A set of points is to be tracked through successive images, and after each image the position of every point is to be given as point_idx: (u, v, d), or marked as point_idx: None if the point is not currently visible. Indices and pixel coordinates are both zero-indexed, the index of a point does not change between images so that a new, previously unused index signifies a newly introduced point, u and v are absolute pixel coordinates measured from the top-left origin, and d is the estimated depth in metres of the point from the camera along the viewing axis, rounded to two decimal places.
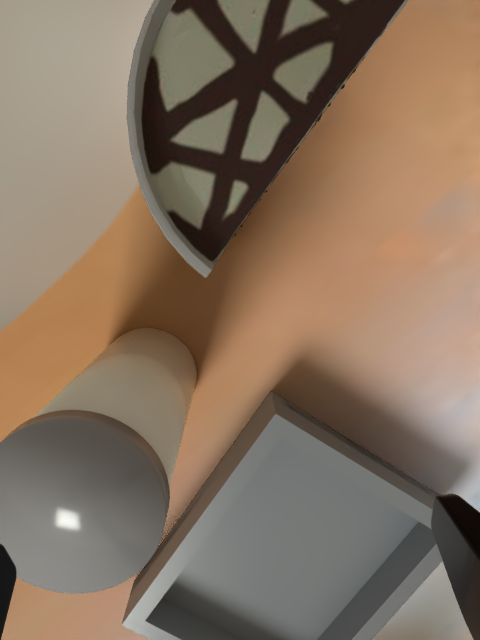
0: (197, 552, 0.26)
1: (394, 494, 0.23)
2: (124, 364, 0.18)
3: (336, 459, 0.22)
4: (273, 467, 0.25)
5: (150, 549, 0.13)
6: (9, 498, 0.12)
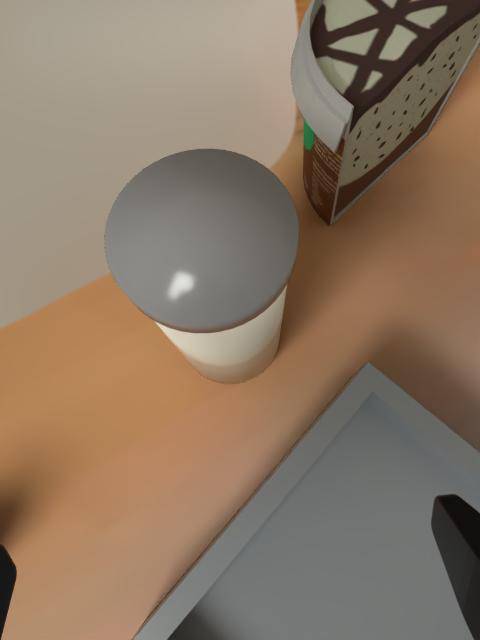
0: (244, 570, 0.19)
1: None
2: None
3: (437, 429, 0.19)
4: (355, 456, 0.21)
5: (275, 281, 0.12)
6: (150, 208, 0.13)
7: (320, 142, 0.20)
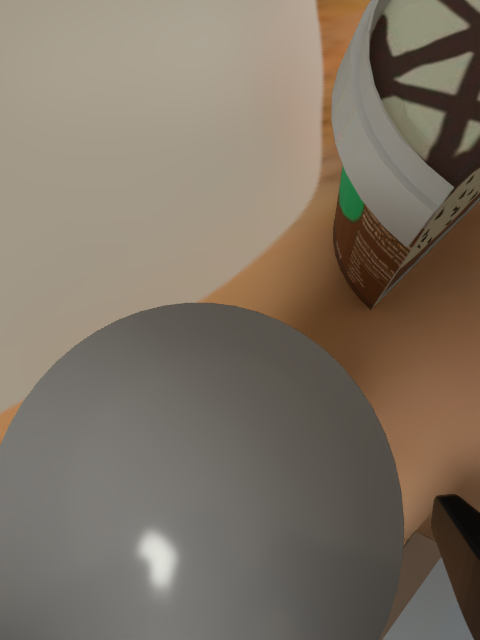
0: None
1: None
2: None
3: None
4: None
5: None
6: (83, 440, 0.06)
7: (374, 219, 0.13)
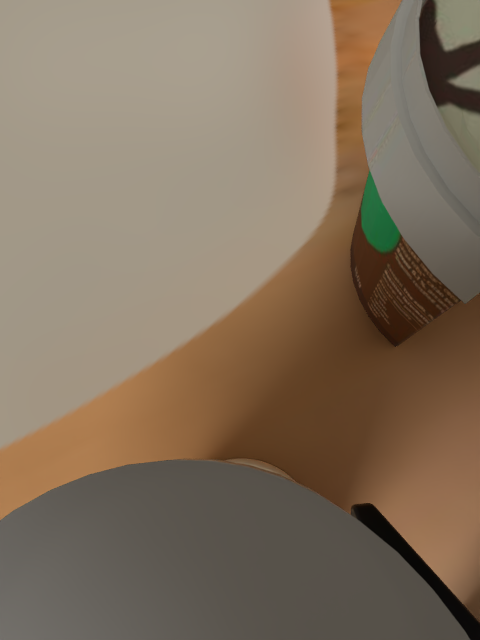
0: None
1: None
2: (263, 468, 0.09)
3: None
4: None
5: None
6: None
7: (414, 256, 0.11)
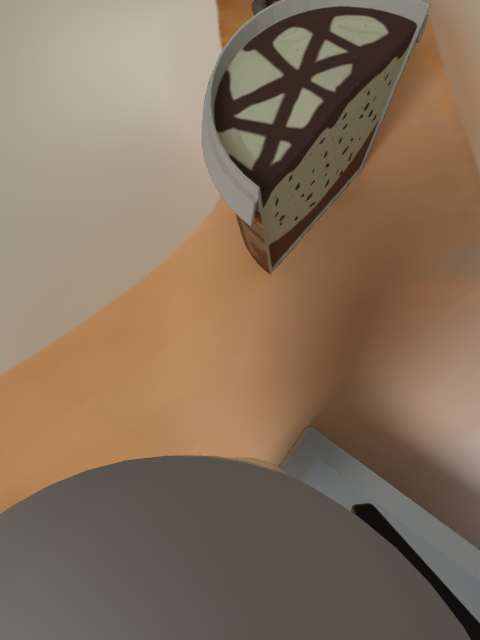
0: None
1: (464, 550, 0.18)
2: None
3: (384, 491, 0.19)
4: None
5: None
6: None
7: None
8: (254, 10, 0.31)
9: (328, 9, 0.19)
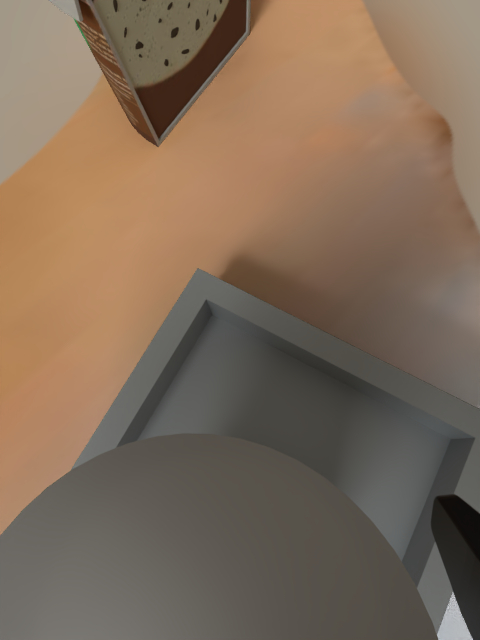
0: None
1: (378, 370, 0.16)
2: None
3: (284, 322, 0.16)
4: (212, 381, 0.18)
5: None
6: (51, 619, 0.05)
7: (83, 28, 0.17)
8: None
9: None
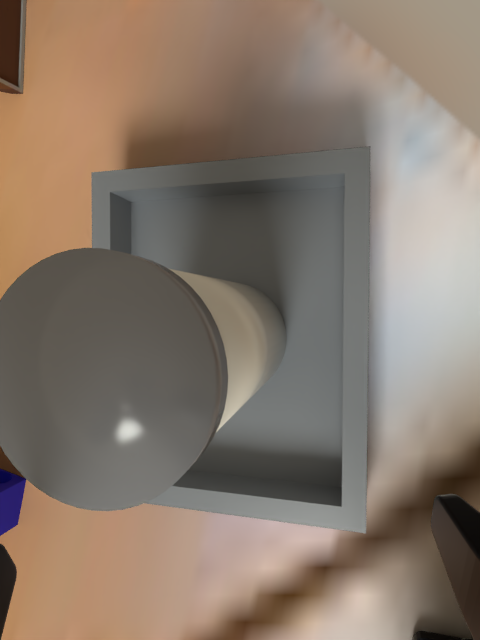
0: None
1: (253, 166, 0.18)
2: None
3: (171, 174, 0.19)
4: (157, 249, 0.22)
5: (206, 407, 0.09)
6: (21, 379, 0.10)
7: None
8: None
9: None
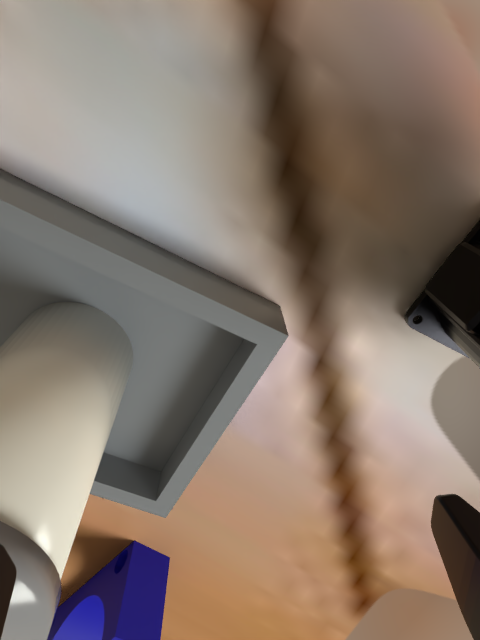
0: None
1: None
2: None
3: None
4: None
5: None
6: None
7: None
8: None
9: None
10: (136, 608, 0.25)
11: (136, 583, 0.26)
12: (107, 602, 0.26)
